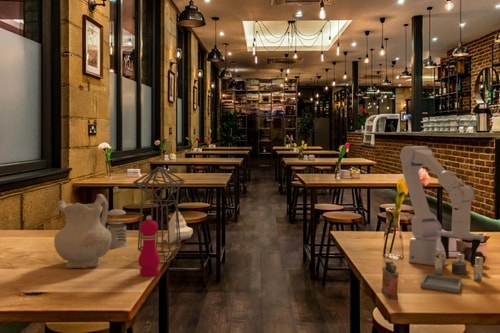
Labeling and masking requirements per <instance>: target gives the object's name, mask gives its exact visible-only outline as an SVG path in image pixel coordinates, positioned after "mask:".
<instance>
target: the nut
mask: <svg viewBox="0 0 500 333" xmlns="http://www.w3.org/2000/svg"><path fill="white" fill-rule="evenodd" d="M451 274H453V275H457V276H466V275H467V262H465V261H464V262H460V261H457V260H455V261H452V263H451Z"/></svg>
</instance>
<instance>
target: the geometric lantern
mask: <svg viewBox="0 0 500 333" xmlns="http://www.w3.org/2000/svg"><path fill="white" fill-rule="evenodd" d="M158 173H160V175H161V177H162V179H163V180H161V179H156V178H157V176H158ZM172 176H173V177H175V178H177V179H174V178H173V177H172ZM144 178H145V179H144ZM166 178H167V180H168V181H167V180H166ZM142 179H144V180H142ZM141 180H142V181H141ZM139 181H140V182H139ZM150 181H152V183H150ZM185 182H186V180H185V179H183V178H182V177H180V176H178V175H176V174H174V173H172V172H171V171H169V170H167V169H166V168H164V167H162V166H161V167H160V166H157V167H156V168H154V169H153V170H151V171H149V172H148V173H146V174H144V175H143V176H141V177H139V178H137V179H136V180H134V181H133V182H132V184H133V185H135V186H136V187H137V188H138V189H140V191H141V194H140V199H141V201H140V211H139V212H140V214H139V224H138V225H139V227H138V236H137V237H138V238H137V239H138V240H137V250H138V251H139V252H141V251H142V248H143V239H142V236H141V235H142V233H141V231H140V225H141V223H142V222H143V205H144V206H145V205H146V206H147V205H148V206H151V212H150V213H151V214H150V216H151V217H152V219H151V220H153V218H154V217H153V216H154V215H153V213H154V206H156V216H155V217H156V220H155V222H156V223H157V224H158V225H159V221H158V220H159V207H160V211H161V212H160V213H161V214H160V215H161V216H160V218H161V220H160V222H161V241H160V242H159V241H158V239H159V238H158V237H159V236H158V235H159V234H158V233H159V232H158V231H159V230H158V231H157V232H156V234H157V236H156V237H157V238H156V239H155V245H156V249H157V248H158V245H161V250H157V252H158V254H159V257H160V259H161V258H162V259H163V261H160V264H167V263H169V262H170V261H172V260H173V259H174V258H175V257H174V253H175V252H177V251H178V250H179V249H180V248H181V247H182V243H181V242H182V240H181V239H180V227H179V215H178V211H179V207H178V204H179V191H180V188H181V187H182V185H183V184H184V183H185ZM143 186H144V188H143ZM149 186H151V189H152V190H151V191H148V190H147V189H148V187H149ZM167 186H169V187H167ZM154 187H158V188H156V189H154ZM176 187H177V188H176ZM162 188H163V190H162V191H161V193H160V194H159V196H158V194H157V193H156V192H157V191H159V190H160V189H162ZM165 190H170V194H169V196H168V197H167V199H160V198H161V196H162V195H163V193H164V191H165ZM173 193H176V198H175V196H174V194H173ZM143 194H144V195H143ZM146 194H147V195H148V197H149V198H150V200H146V201H144V199H145V196H146ZM151 194H154V195H155V197H156V198H157V199H153V198H152V197H151ZM171 195H172V198H173V200H172V199H170V197H171ZM149 202H151V203H149ZM154 202H156V203H154ZM163 202H164V204H163ZM168 202H171V203H169V204H167V203H168ZM159 203H160V204H159ZM171 205H175V212H176V234H177V242H174V243H170V239H169V208H168V207H169V206H171ZM163 207H165V212H166V213H165V214H166V223H167V224H166V225H167V226H166V227H167V232H168V242H164V215H163V214H164V213H163V212H164V211H163V209H164V208H163ZM178 232H179V241H178ZM164 245H168V250H164ZM171 245H172V246H175V247H173V248H172V249H171ZM165 254H167V255H165ZM168 257H170V259H168Z"/></svg>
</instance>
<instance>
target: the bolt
mask: <svg viewBox="0 0 500 333" xmlns="http://www.w3.org/2000/svg"><path fill="white" fill-rule="evenodd" d="M463 247H464V248H463V249H462V251H461V250H460V254H464V259H468V261H469V263H470V264H471V265H472V266H474V265H475V257H483V264H484V263H485V262H486V257H485V256H484V253H483V252H482V251H479V250H478V251H477V250H476V252H475V255H474V258H473V262H471V254H472V246H463Z"/></svg>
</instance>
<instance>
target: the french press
mask: <svg viewBox="0 0 500 333" xmlns="http://www.w3.org/2000/svg"><path fill="white" fill-rule="evenodd" d="M113 190H119V187H118V186H114V187H113ZM126 214H127V212H126V211H125V210H123V209H118V208H117V207H115V209H111V210H108V214H107V216H112V217H113V216H114V217H115V220H112V219H111V217H109V218H107V220H106V222H105V226H104V227H105V228H106V229H108V230H109V231H110V233H111V236H112V240H111V246H110V248H109V249H118V248H125V247H128V246H129V242H127V225H126V221H125V220H118V219H117V216H124V215H126ZM111 220H112V221H111Z"/></svg>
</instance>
